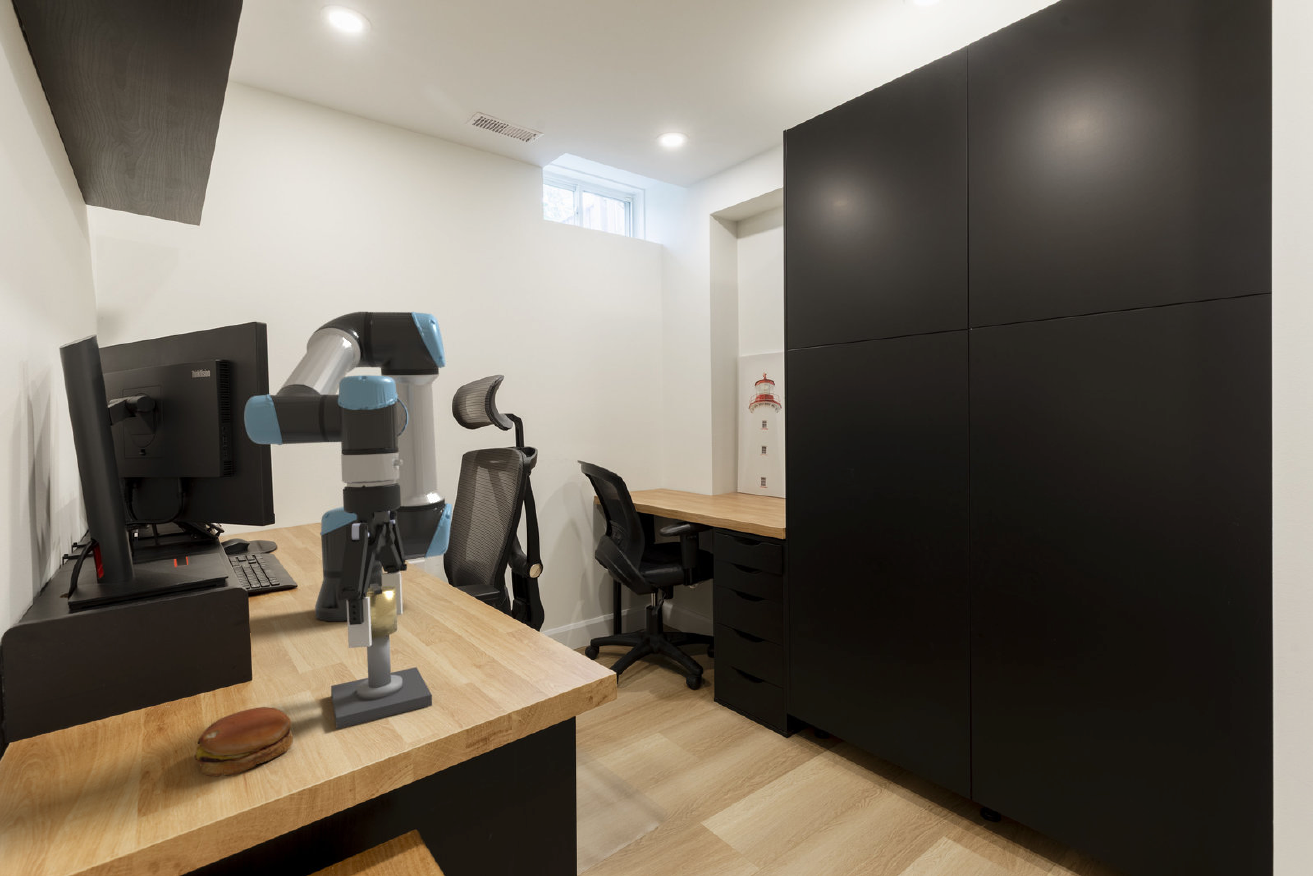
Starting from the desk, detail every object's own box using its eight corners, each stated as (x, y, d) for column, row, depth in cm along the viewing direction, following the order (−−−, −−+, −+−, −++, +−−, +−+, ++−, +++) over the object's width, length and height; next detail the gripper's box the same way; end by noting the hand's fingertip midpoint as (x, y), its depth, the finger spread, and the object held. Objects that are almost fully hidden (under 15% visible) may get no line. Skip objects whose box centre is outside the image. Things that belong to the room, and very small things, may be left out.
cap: (355, 631, 89) (353, 586, 89) (394, 623, 92) (392, 580, 92) (360, 641, 84) (358, 594, 84) (400, 633, 87) (398, 587, 87)
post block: (331, 696, 90) (328, 629, 90) (416, 676, 97) (414, 614, 96) (336, 729, 80) (333, 654, 80) (432, 705, 86) (429, 635, 86)
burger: (309, 739, 78) (307, 703, 78) (247, 781, 69) (245, 740, 69) (244, 733, 80) (242, 698, 80) (176, 774, 71) (173, 735, 71)
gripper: (367, 491, 76) (374, 660, 76) (422, 475, 100) (427, 602, 101) (303, 494, 75) (311, 665, 75) (375, 476, 100) (380, 605, 100)
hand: (377, 629), depth 88 cm, fingers open, 13 cm apart
